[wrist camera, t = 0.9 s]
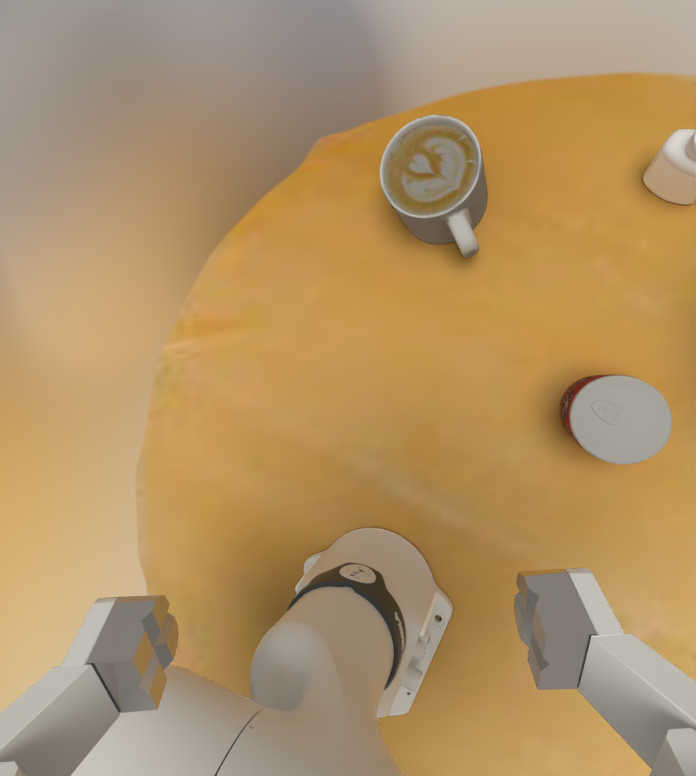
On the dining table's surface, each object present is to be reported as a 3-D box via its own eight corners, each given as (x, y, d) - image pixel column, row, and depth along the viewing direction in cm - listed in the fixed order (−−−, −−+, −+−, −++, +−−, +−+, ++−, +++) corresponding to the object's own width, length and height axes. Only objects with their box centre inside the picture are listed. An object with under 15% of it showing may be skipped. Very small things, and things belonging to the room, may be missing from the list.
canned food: (570, 367, 54) (584, 364, 43) (651, 387, 51) (686, 389, 41) (549, 434, 55) (558, 448, 44) (628, 457, 52) (657, 477, 42)
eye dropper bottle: (662, 219, 51) (706, 173, 39) (636, 172, 51) (671, 114, 40) (708, 196, 50) (767, 142, 38) (680, 148, 50) (730, 81, 39)
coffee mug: (391, 177, 60) (368, 139, 50) (474, 143, 56) (466, 96, 47) (420, 284, 59) (402, 266, 49) (505, 255, 56) (504, 231, 46)
